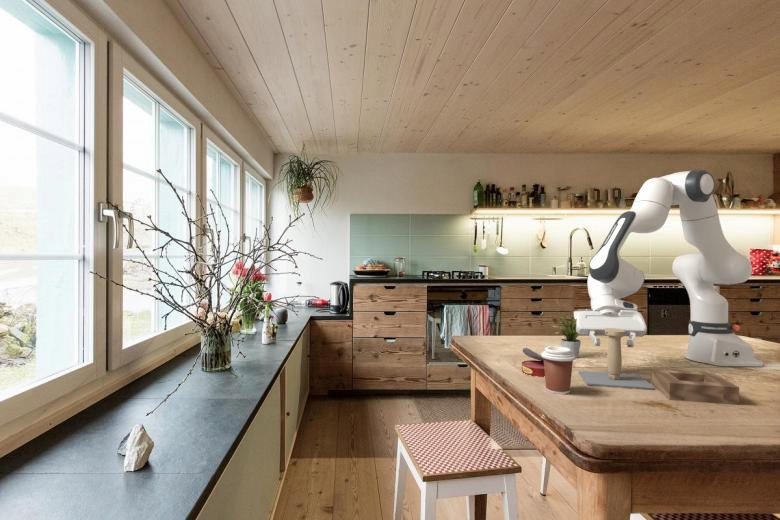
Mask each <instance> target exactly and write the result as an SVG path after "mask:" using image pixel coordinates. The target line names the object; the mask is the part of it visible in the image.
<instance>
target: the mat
mask: <svg viewBox="0 0 780 520" xmlns="http://www.w3.org/2000/svg"><path fill="white" fill-rule="evenodd" d="M578 374H579V376H580V375H581V376H580V377H581V379H582V378H583V379H582V380H583V381H585V382H584V383H585V385H586V384H587V385H593V386H592V387H602V386H608V387H607V388H617V387H624V388H623V389H632V388H636V389H637V390H646V391H647V390H649V391H655V390H656V388H655V387H654V386H653V385H652V383H650V382H648V381H647V380H646V379H645V378H644V377H643V376H642V375H641V374H640V373H639V374H636V373H622V372H621V374H620V379H619V380H613V379H609V375H608V374H609V373H608V372H605V371H604V372H603V371H586V370H578ZM587 385H586V386H587ZM636 389H635V390H636Z"/></svg>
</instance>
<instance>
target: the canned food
mask: <svg viewBox="0 0 780 520" xmlns="http://www.w3.org/2000/svg"><path fill="white" fill-rule="evenodd" d="M522 353H523V354H524V355H525V356H527V357H529V358H531V359H534V360H529V359H528V360H523V361H522V362H521V373H522V372H523V373H522V374H524V373H525V374H524V375H526V374H527V376H529V375H531V376H530V377H535V376H538V377H537V378H545V377H544V376H545V370H544V358H542V357H541V354H539V353H538V352H536V351H534V350H532V349H530V348H528V347H523V348H522Z"/></svg>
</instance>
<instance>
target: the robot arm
mask: <svg viewBox="0 0 780 520" xmlns="http://www.w3.org/2000/svg"><path fill="white" fill-rule="evenodd" d="M714 190H715V178H714V176H713V175H712V174H711V173H710V172H709V171H707V170H705V169H693V170H686V171H678V172H674V173H671V174H666V175H662V176H657V177H652V178H650V179H647V180H646V181H645V182H644V183H643V184H642V186H641V187H640V189H639V191H638V192H637V194H636V197H635V198H634V200H633V203H632V206H631V207H630V209H629V210H627V211H624V212H623V213H622V214H620V215H619V217H618V218H617V219H616V220H615V222H614V223H613V225H612V227H611V228H610V230H609V232H608V234H607V236H606V237H605V239H604V240H603V242H602V244H601V246H600V247H599V249H598V250H597V251H596V253H595V254H594V255H593V256H592V258H591V259H590V260H589V263H588V272H589V273H588V277H587V282H586V283H587V293H588V296H589V298H590V308H586V309H585V308H578V309H575V310H574V311H573V312H572V313H573V314H574V317H573V319H574V318H575V319H576V323H575V324H576V332H577V335H579V336H580V335H581V336H583V335H584V336H588V338H589V339H590V340H591V341H592V342H593V346H594V347H600V346H601V341H600V338H597V337H596V336H606V337H608V336H607V335H606V334H605V328H615V329H621V330H624V331H625V336H624V337H628V339H627V341H626V346H627V348H634V347H635V343H634V340H635V338H636V337H637V338H640V337H642V338H643V337H644V336H645V335H646V333H647V331H648V330H647V329H648V328H647V327H648V326H647V324H646V321H645V319H644V316H643V315H642V313H641V312H639V311H638V308H639V307H638V305H637V304H636V303H633V302H628V301H625V300H622V299H624V298H627V297H630V296H632V295H634V294H636V293H638V292H640V290H642V288H643V287H644V283H645V274H644V272H643V271H642V270H641V269H639V268H638V267H636V266H635V265H633V264H631V263H629V262H627V261H626V260H624V259H623V258H622V257H621V256H620V251H621V250H622V248H623V245H624V244H625V242H626V241H627V239H628V237H629V236H630V234H631V233H636V234H651V233H654V232H657V231H658V230H660V229H662V228H663V227H664V225H665V223H666V221H667V220H668V219H667V218H668V216H669V214H670V213H669V212H670V210H671V207H672V206H679V217H680V221H681V226H682V230H683V236H684V239H685V241H686V243H688V244H689V245H692V246H693V247H695V248H696V249H697V250H698V251H699V252H690V253H685V254H680V255H677V256H676V257H675V258H674V260H673V262H672V264H671V269H672V273H673V275H674V277H676V278H677V280H678V281H680V282H681V283H682V285H683V286H684V287H685V289H686V291H687V295H688V298H689V304H690V305H689V306H690V307H689V308H690V319H688V335H689V336H688V337H689V338H688V345H687V347H686V348H687V349H686V352H685V355H684V358H686V359H688V360H690V361H693V362H698V363H703V364H708V365H709V364H710V365H713V366H718V367H758V368H759V367H764V363H763V361H761V360H759V359H757V358H756V355H755V350H754V348H753V346H752V345H751V344H750V343H748V342H747V341H745V340H744V339H743V338H741V337H740V336H738V335H737V334H735V333H734V331H736V332H738V331H740V330H741V328H740V325H737V324H732V323H730V322H729V302H728V300H727V299H726V297H724V296H723V295H722V294H720V293H718V291H717V290H716V288H715V286H714V284H716V285H735V284H741V283H745V282H747V281H748V279H750V277H751V276H752V272H753V266H752V263H751V261H750V260H749V258H748V257H747V256H745V255H743V254H741V253H740V252H739V251H737V250H736V249H735V248H734V247H733V246H732V245H731V244H730V243H729V241H728V240H727V238H726V236H725V234H724V231H723V228H722V224H721V222H720V221H721V219H720V216H719V211H718V206H717V204H716V201H715V197H714V196H713V192H714ZM573 314H572V315H573Z"/></svg>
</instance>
